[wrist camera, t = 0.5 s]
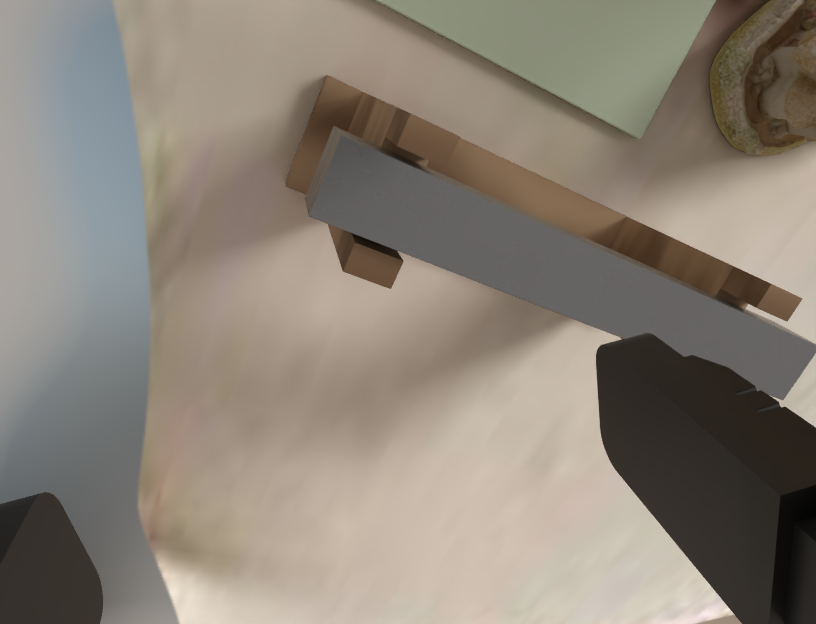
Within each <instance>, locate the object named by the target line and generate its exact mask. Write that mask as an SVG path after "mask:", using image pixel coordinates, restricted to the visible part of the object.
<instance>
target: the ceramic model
mask: <svg viewBox="0 0 816 624" xmlns="http://www.w3.org/2000/svg"><path fill="white" fill-rule="evenodd" d="M709 81H710V92H711V100H712V105H713V112H714V115H715V120H716V122H717V125H718V126H719V128H720V130H721V131H722V133H723V135H724V136H725V138H726V139H727V140H728V141H729V143H730V144H731V145H732V146H734V147H735V148H736V149H738V150H740V151H743V152H746V153H747V154H748V155H761V156H767V155H774V154H781V153H783V152H784V151H787V150H790V149H793V148H796V147H798V146H799V145H801V144H803V143H804V142H805V141H816V0H770V1H769V2H767V3H766V4H765V5H764V6H763V7H761V8H760V9H759V10H758V11H757V12H755V13H754V14H753V15H752V16H751V17H750V18H749V19H748V20H746V21H745V22H744V23H743V24H742V25H741V26H740V27H739V28H738V29H737V30H735V31H734V32H733V33H732V34H731V36H730V37H729V38H728V39H727V41H726V42H725V44H724V45H723V46H722V47H721V49H720V51H719V52H718V54H717V55H716V57H715V59H714V61H713V63H712V67H711V70H710V77H709Z"/></svg>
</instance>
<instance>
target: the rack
mask: <svg viewBox="0 0 816 624" xmlns="http://www.w3.org/2000/svg"><path fill="white" fill-rule="evenodd" d="M333 126H335V127H337V128H340V129H342V130H344V131H346V132H349V133H351V134H353V135H355V136H358V137H360V138H362V139H364V140H367V141H369V142H371V143H373V144H376V145H378V146H380V147H382V148H385V149H387V150H389V151H391V152H394V153H396V154H398V155H400V156H403V157H405V158H407V159H409V160H412V161H414V162H416V163H418V164H421V165H423V166H425V167H427V168H429V169H432V170H434V171H436V172H438V173H441V174H443V175H445V176H447V177H450V178H452V179H454V180H456V181H459V182H461V183H463V184H465V185H468V186H470V187H472V188H474V189H477V190H479V191H481V192H483V193H486V194H488V195H490V196H492V197H495V198H497V199H499V200H501V201H504V202H506V203H508V204H510V205H513V206H515V207H517V208H519V209H522V210H524V211H526V212H528V213H531V214H533V215H535V216H537V217H540V218H542V219H544V220H546V221H549V222H551V223H553V224H555V225H558V226H560V227H562V228H564V229H567V230H569V231H571V232H573V233H576V234H578V235H580V236H582V237H585V238H587V239H589V240H591V241H594V242H596V243H598V244H600V245H603V246H605V247H607V248H609V249H612V250H614V251H616V252H618V253H621V254H623V255H625V256H627V257H630V258H632V259H634V260H636V261H639V262H641V263H643V264H645V265H648V266H650V267H652V268H654V269H657V270H659V271H661V272H663V273H666V274H668V275H670V276H672V277H675V278H677V279H679V280H681V281H684V282H686V283H688V284H690V285H693V286H695V287H697V288H699V289H702V290H704V291H706V292H708V293H710V294H713V295H715V296H717V297H719V298H722V299H724V300H726V301H728V302H731V303H733V304H735V305H737V306H740V307H742V308H744V309H745V308H746V306H747V305H748V304H750V305H752V306H754V307H756V308H758V309H760V310H763V311H765V312H767V313H769V314H771V315H774V316H776V317H778V318H780V319H783V320H785V321H788V320H789V318H790V317H791V315H792V314H793V312H794V311H795V309H796V308H797V306H798V305H799V303H800V302H801V300H802V298H800V297H798V296H796V295H794V294H791V293H789V292H787V291H785V290H783V289H781V288H779V287H777V286H775V285H772V284H770V283H768V282H766V281H764V280H762V279H760V278H757V277H755V276H753V275H751V274H749V273H747V272H745V271H742V270H740V269H738V268H736V267H734V266H732V265H729V264H727V263H725V262H723V261H721V260H719V259H717V258H714V257H712V256H710V255H708V254H706V253H704V252H702V251H699V250H697V249H695V248H693V247H691V246H689V245H686V244H684V243H682V242H680V241H678V240H676V239H674V238H671V237H669V236H667V235H665V234H663V233H661V232H658V231H656V230H654V229H652V228H650V227H648V226H646V225H643V224H641V223H639V222H637V221H635V220H633V219H631V218H628V217H626V216H624V215H622V214H620V213H618V212H616V211H614V210H611V209H609V208H607V207H605V206H603V205H601V204H599V203H597V202H594V201H592V200H590V199H588V198H586V197H584V196H582V195H580V194H577V193H575V192H573V191H571V190H569V189H567V188H565V187H563V186H561V185H558V184H556V183H554V182H552V181H550V180H548V179H546V178H544V177H541V176H539V175H537V174H535V173H533V172H531V171H529V170H527V169H524V168H522V167H520V166H518V165H516V164H514V163H512V162H510V161H508V160H505V159H503V158H501V157H499V156H497V155H495V154H493V153H491V152H488V151H486V150H484V149H482V148H480V147H478V146H476V145H474V144H471V143H469V142H467V141H465V140H463V139H461V138H460V137H459V136H457V135H455V134H453V133H451V132H449V131H446V130H444V129H442V128H440V127H438V126H436V125H434V124H432V123H429V122H427V121H425V120H423V119H421V118H419V117H417V116H415V115H413V114H410V113H408V112H406V111H404V110H401V109H399V108H397V107H395V106H392V105H390V104H388V103H386V102H384V101H381V100H379V99H377V98H375V97H372V96H370V95H368V94H366V93H363V92H361V91H359V90H357V89H355V88H353V87H351V86H348V85H346V84H344V83H342V82H340V81H338V80H336V79H334V78H332V77H329V76H327V75H326V78H325V80H324V83H323V86H322V88H321V91H320V94H319V96H318V99H317V101H316V104H315V107H314V109H313V112H312V114H311V117H310V120H309V122H308V125H307V127H306V130H305V133H304V135H303V138H302V141H301V143H300V146H299V148H298V151H297V154H296V156H295V159H294V161H293V164H292V167H291V169H290V172H289V175H288V177H287V180H286V182H285V184H286V187H289V188H291V189H294V190H296V191H299V192H301V193H304V194H306V195H307V192H308V189H309V187H310V184H311V182H312V179H313V177H314V174H315V172H316V169H317V167H318V164H319V162H320V159H321V157H322V154H323V152H324V149H325V146H326V144H327V141H328V139H329V136H330V134H331V131H332V129H333ZM328 226H329V230H330V233H331V236H332V239H333V242H334V245H335V248H336V251H337V254H338V258H339V261H340V264H341V267H342V270H343V272H346V273H349V274H351V275H354V276H357V277H360V278H362V279H365V280H368V281H370V282H373V283H376V284H379V285H381V286H384V287H387V288H390V289H391V287H392V285H393V283H394V281H395V279H396V277H397V274H398V272H399V270H400V268H401V266H402V263H403V260H402V258H401V256H400V255H399V253H398V252H397V250H394V249H392V248H389V247H387V246H384V245H382V244H379V243H376V242H374V241H371V240H369V239H366V238H363V237H361V236H358V235H356V234H353V233H351V232H348V231H345V230H343V229H340V228H338V227H335V226H333V225H330V224H328ZM620 338H621V337H620ZM621 339H624V338H621Z"/></svg>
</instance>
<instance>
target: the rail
mask: <svg viewBox="0 0 816 624" xmlns="http://www.w3.org/2000/svg"><path fill="white" fill-rule="evenodd" d="M305 200H306V205H307V209H308V214H309V217H312V218H315V219H317V220H320V221H322V222H325V223H327V224H330V225H333V226H335V227H338V228H340V229H343V230H345V231H348V232H351V233H353V234H356V235H358V236H361V237H363V238H366V239H369V240H371V241H374V242H376V243H379V244H382V245H384V246H387V247H389V248H392V249H394V250H397V251H400V252H402V253H405V254H407V255H410V256H412V257H415V258H418V259H420V260H423V261H425V262H428V263H430V264H433V265H436V266H438V267H441V268H443V269H446V270H448V271H451V272H454V273H456V274H459V275H461V276H464V277H467V278H469V279H472V280H474V281H477V282H479V283H482V284H485V285H487V286H490V287H492V288H495V289H497V290H500V291H503V292H505V293H508V294H510V295H513V296H515V297H518V298H521V299H523V300H526V301H528V302H531V303H533V304H536V305H539V306H541V307H544V308H546V309H549V310H552V311H554V312H557V313H559V314H562V315H564V316H567V317H570V318H572V319H575V320H577V321H580V322H582V323H585V324H588V325H590V326H593V327H595V328H598V329H600V330H603V331H606V332H608V333H611V334H613V335H616V336H618V337H621V338H624V339H626V338H630V337H633V336H637V335H641V334H645V333H651V334H653V335H655V336H656V337H658V338H659V339H660V340H662V341H663V342H665V343H666V344H667V345H669V346H670V347H671V348H673V349H674V350H675V351H677V352H678V353H679V354H681V355H682V356H683V357H686V356H690V355H694V356H697V357H700V358H703V359H706V360H709V361H711V362H714V363H717V364H720V365H723V366H726V367H728V368H730V369H731V370H733V371H734V372H736V373H737V374H739V375H740V376H741V377H743V378H744V379H746V380H747V381H749V382H750V383H752V384H753V385H755V386H756V389H757V390H758V391H760V390H762V391H763V392H765V393H766V394H768V395H770V396H773V397H776V398H778V399H781V400H784V398H785V397H786V395H787V394H788V392H789V391H790V390H791V388H792V387H793V385H794V384H795V382H796V381H797V379H798V378H799V377H800V375H801V374H802V372H803V371H804V369H805V368H806V366H807V365H808V363H809V362H810V361H811V359H812V358H813V356H814V355H815V353H816V344H814V343H812V342H811V341H809V340H807V339H805V338H803V337H801V336H799V335H798V334H796V333H794V332H792V331H790V330H788V329H786V328H785V327H783V326H781V325H779V324H777V323H775V322H773V321H771V320H769V319H767V318H764V317H762V316H760V315H758V314H755V313H753V312H751V311H749V310H746V309H744V308H742V307H740V306H737V305H735V304H733V303H731V302H728V301H726V300H724V299H722V298H719V297H717V296H715V295H713V294H710V293H708V292H706V291H704V290H702V289H699V288H697V287H695V286H693V285H690V284H688V283H686V282H684V281H681V280H679V279H677V278H675V277H672V276H670V275H668V274H666V273H663V272H661V271H659V270H657V269H654V268H652V267H650V266H648V265H645V264H643V263H641V262H639V261H636V260H634V259H632V258H630V257H627V256H625V255H623V254H621V253H618V252H616V251H614V250H612V249H609V248H607V247H605V246H603V245H600V244H598V243H596V242H594V241H591V240H589V239H587V238H585V237H582V236H580V235H578V234H576V233H573V232H571V231H569V230H567V229H564V228H562V227H560V226H558V225H555V224H553V223H551V222H549V221H546V220H544V219H542V218H540V217H537V216H535V215H533V214H531V213H528V212H526V211H524V210H522V209H519V208H517V207H515V206H513V205H510V204H508V203H506V202H504V201H501V200H499V199H497V198H495V197H492V196H490V195H488V194H486V193H483V192H481V191H479V190H477V189H474V188H472V187H470V186H468V185H465V184H463V183H461V182H459V181H456V180H454V179H452V178H450V177H447V176H445V175H443V174H441V173H438V172H436V171H434V170H432V169H429V168H427V167H425V166H423V165H421V164H418V163H416V162H414V161H412V160H409V159H407V158H405V157H403V156H400V155H398V154H396V153H394V152H391V151H389V150H387V149H385V148H382V147H380V146H378V145H376V144H373V143H371V142H369V141H367V140H364V139H362V138H360V137H358V136H355V135H353V134H351V133H349V132H346V131H344V130H342V129H340V128H337V127H335V126H333V129H332V131H331V134H330V136H329V139H328V141H327V144H326V146H325V149H324V152H323V154H322V157H321V159H320V162H319V164H318V167H317V169H316V172H315V174H314V177H313V179H312V182H311V184H310V187H309V189H308V192H307V195H306V197H305Z"/></svg>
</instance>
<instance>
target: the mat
mask: <svg viewBox="0 0 816 624" xmlns="http://www.w3.org/2000/svg"><path fill="white" fill-rule="evenodd" d="M375 1H376V2H378V3H380V4H382V5H384V6H386V7H388V8H390V9H392V10H394V11H395V12H397V13H399V14H401V15H403V16H405V17H407V18H409V19H411V20H412V21H414V22H416V23H418V24H420V25H422V26H424V27H426V28H428V29H430V30H431V31H433V32H435V33H437V34H439V35H441V36H443V37H445V38H447V39H448V40H450V41H452V42H454V43H456V44H458V45H460V46H462V47H464V48H465V49H467V50H469V51H471V52H473V53H475V54H477V55H479V56H481V57H483V58H484V59H486V60H488V61H490V62H492V63H494V64H496V65H498V66H500V67H501V68H503V69H505V70H507V71H509V72H511V73H513V74H515V75H517V76H519V77H520V78H522V79H524V80H526V81H528V82H530V83H532V84H534V85H536V86H537V87H539V88H541V89H543V90H545V91H547V92H549V93H551V94H553V95H555V96H556V97H558V98H560V99H562V100H564V101H566V102H568V103H570V104H572V105H573V106H575V107H577V108H579V109H581V110H583V111H585V112H587V113H589V114H590V115H592V116H594V117H596V118H598V119H600V120H602V121H604V122H606V123H608V124H609V125H611V126H613V127H615V128H617V129H619V130H621V131H623V132H625V133H626V134H628V135H630V136H632V137H634V138H637V139H641V138H642V136H643V134H644V132H645V130H646V128H647V127H648V125H649V123H650V121H651V119H652V117H653V116H654V114H655V112H656V110H657V108H658V106H659V104H660V103H661V101H662V99H663V97H664V95H665V93H666V92H667V90H668V88H669V86H670V84H671V82H672V80H673V79H674V77H675V75H676V73H677V71H678V69H679V67H680V66H681V64H682V62H683V60H684V58H685V56H686V55H687V53H688V51H689V49H690V47H691V45H692V43H693V42H694V40H695V38H696V36H697V34H698V32H699V31H700V29H701V27H702V25H703V23H704V21H705V19H706V18H707V16H708V14H709V12H710V10H711V8H712V6H713V5H714V3H715V1H716V0H375Z"/></svg>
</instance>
